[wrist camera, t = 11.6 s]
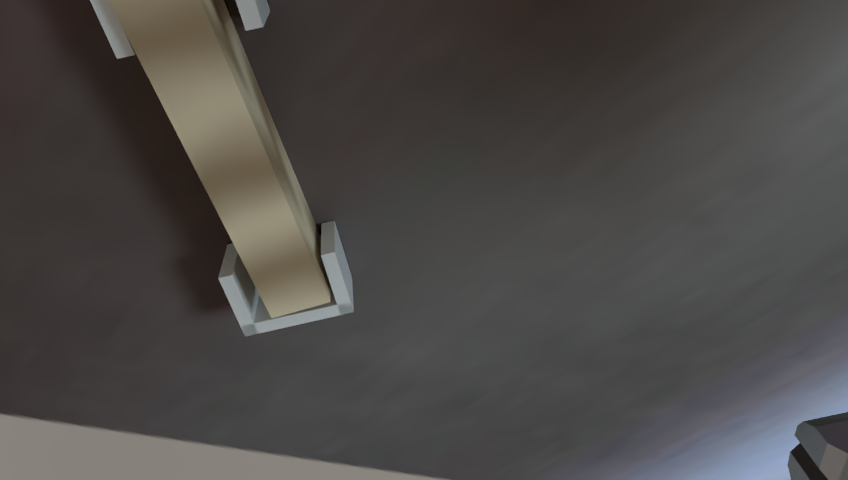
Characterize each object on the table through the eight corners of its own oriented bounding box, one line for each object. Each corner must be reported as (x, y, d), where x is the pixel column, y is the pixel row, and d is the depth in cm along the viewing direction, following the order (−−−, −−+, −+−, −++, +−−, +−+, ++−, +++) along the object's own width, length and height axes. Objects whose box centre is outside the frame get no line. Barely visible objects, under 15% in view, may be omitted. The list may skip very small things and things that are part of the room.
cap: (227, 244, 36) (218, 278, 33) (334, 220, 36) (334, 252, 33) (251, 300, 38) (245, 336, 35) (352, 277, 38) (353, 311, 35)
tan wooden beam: (136, -23, 28) (105, -6, 24) (206, -44, 28) (187, -30, 24) (277, 273, 38) (271, 318, 34) (330, 258, 38) (330, 302, 34)
